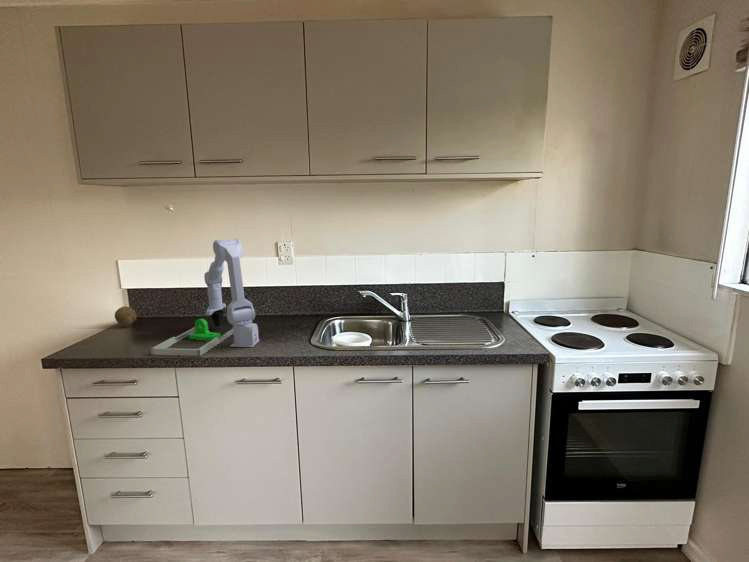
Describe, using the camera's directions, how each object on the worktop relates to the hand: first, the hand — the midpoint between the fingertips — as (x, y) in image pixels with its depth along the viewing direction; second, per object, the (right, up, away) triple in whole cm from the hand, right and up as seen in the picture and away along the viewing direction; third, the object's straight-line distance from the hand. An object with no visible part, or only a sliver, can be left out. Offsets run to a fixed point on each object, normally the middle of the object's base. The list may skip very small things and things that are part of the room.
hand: (217, 326), depth 187 cm
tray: (-3, -6, -25) cm, 26 cm away
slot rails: (-1, -3, -8) cm, 9 cm away
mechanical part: (-1, -4, -12) cm, 12 cm away
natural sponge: (-48, -1, +9) cm, 48 cm away
